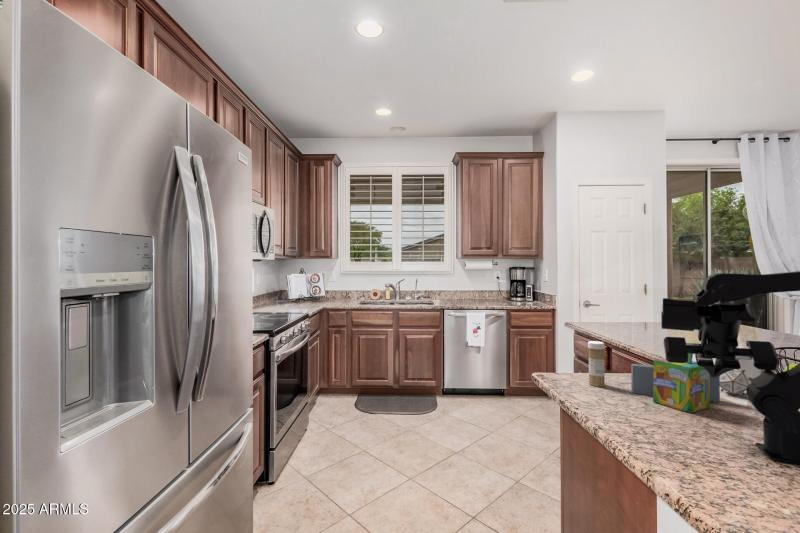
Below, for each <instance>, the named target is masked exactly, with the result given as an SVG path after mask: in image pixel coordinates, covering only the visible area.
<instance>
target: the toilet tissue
mask: <svg viewBox="0 0 800 533" xmlns="http://www.w3.org/2000/svg"><path fill="white" fill-rule="evenodd" d="M739 363H740V366H741V368H740V369H737V370H740V371H742V370H745V372H744V374H745V375H746V376H747V377H748V378H756V377H758V376H759V375H760V374H762V373H763V372H764V371H765V370H763V369H757V368H756V367H754V365H753V363H754V360H753V358H752V360H743V359H739ZM771 371H773V372H774V373H775V370H771ZM775 374H776V373H775ZM750 383H751V381H750V380H749V384H750Z"/></svg>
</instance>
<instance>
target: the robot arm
mask: <svg viewBox="0 0 800 533" xmlns="http://www.w3.org/2000/svg"><path fill="white" fill-rule="evenodd" d="M786 292H787V293H789V292H800V270H799V271H797V270H796V271H788V272H787V271H786V272H775V273H765V274H756V273H755V274H753V273H750V274H749V273H732V272H731V273H727V272H726V273H725V272H717V273H712V274H710V275H708V276H707V277H706V278H705V279H704V280H703V283H702V289H701V290H700V291H699V292H697V294H696V295H694V297H693V298H692V299H674V298H670V297H668V298H667V297H663V298H662V307H661V309H662V310H661V313H660V314H661V315H660V319H661V320H660V324H661V326H660V327H661V329H662V330H676V331H684V332H685V331H687V332H694V331H695V330H698V334H697V337H698V341H699V342H700V343H696V342H695V343H694V342H693V343H692V342H691V343H690V342H687V341H686V338H685V336H684V337H680V336H677V337H676V336H666V337H664V338H663V348H664V356H665V358H666V360H667V361H668V362H673V363H685V362H688V353H691V354H693V355H694V356H695V360H696V362H697V365H698V366H701V367H704V368H705V369H706V370H707V371H708V372H709V374H710V376H711V377H718V376H720V375H722V374H724V373H726V372H728V371H731V370H734V369H740V368H741V366H740V363H739V359H743V360H752V358H753V360H754V363H753V365H754V367H756V368H757V369H763V370H765V371H764V372H763V373H762V374H760V375H759V376H758V377H756V378H752V379H749V380H750V381H751V383H750V384H749V385H748V386H747V388H746V391H745V396H746V397H747V399H748V401H749V402H750V403H751V404H752V406H753V407H754V408H755V409H756V410H757V411H758V413H760V414H761V415H762V416H764V418H763V420H762V421H763V422H762V423H763V426H762V427H763V443H759V442H755V446H756V448H758V449H759V450H760V452H762V453H763V454H765V455H766V456H767V458H769V459H770V460H772V461H778V462H782V463H783V462H784V463H790V464H796V465H800V362H799V363H797V364H795V366H793V367H791V368H790V369H787V370H785V371H780V372H777V373H774V372H775V371H777V370H778V369H779V368H780V363H781V362H780V358H779V355H778V353H777V351H776V348H775V346H774V344H773V343H772V342H770V341H764V340H761V341H760V340H746V342H745V345H746V347H748V348H746V347H744V348H743V347H739V341H738V339H739V333H740V327H741V324H742V322H743V321H744V322H756V321H757V318H756V314H755V310H754V308H753V307H752V306H750V305H747V304H746V303H740V304H733V303H729V302H734V301H738V300H743V299H744V300H745V299H748V298H749V299H750V298H753V297H754V298H755V297H757V296H760V295H765V294H773V293H786ZM719 302H723V303H719ZM724 302H726V303H724ZM714 359H715V361H714ZM771 370H774V372H773V371H771Z"/></svg>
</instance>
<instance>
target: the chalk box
mask: <svg viewBox="0 0 800 533" xmlns="http://www.w3.org/2000/svg"><path fill="white" fill-rule="evenodd" d="M693 356H694V354H691V353H688V362H685V363H673V362H668V361H667V360H666V357H665V358H659V359H654V360H653V366H654V382H653V395H652V402H653V403H656V404H661V405H662V406H666V407H669V408H673V409H676V410H678V411H681V412H684V413H687V414H691V413H696V412H700V411H703V410H706V409H710V401H709V397H710V395H709V393H710V374H709V372H708V371H707V370H706V369H705V368H704V367H701V366H698V365H697V362H696V361H695V360H693Z"/></svg>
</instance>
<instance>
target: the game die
mask: <svg viewBox="0 0 800 533" xmlns="http://www.w3.org/2000/svg"><path fill="white" fill-rule="evenodd" d="M744 372H745V370H742V371H740V370H737V369H734V370H731V371H728V372H726V373H724V374H722V375H720V392H724V391H725V392H727V393H729V394H731V396H732V398H734V397H735V395H736V394H742V395H743V396H746V388H747V386H748V385H749V379H752V378H748V377H747V376H746V375H745V374H744Z"/></svg>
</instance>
